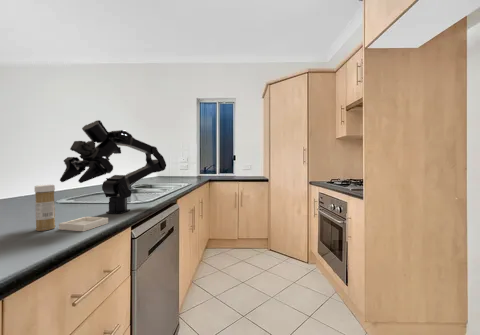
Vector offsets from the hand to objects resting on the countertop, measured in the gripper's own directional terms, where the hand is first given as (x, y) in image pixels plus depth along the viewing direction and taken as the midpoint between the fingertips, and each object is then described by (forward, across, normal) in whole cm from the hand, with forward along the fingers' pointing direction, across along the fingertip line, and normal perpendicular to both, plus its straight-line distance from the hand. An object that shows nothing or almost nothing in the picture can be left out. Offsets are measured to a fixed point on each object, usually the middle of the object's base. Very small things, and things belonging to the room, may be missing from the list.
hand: (69, 181), depth 73 cm
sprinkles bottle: (+15, 0, +6) cm, 16 cm away
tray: (+10, +8, +10) cm, 16 cm away
